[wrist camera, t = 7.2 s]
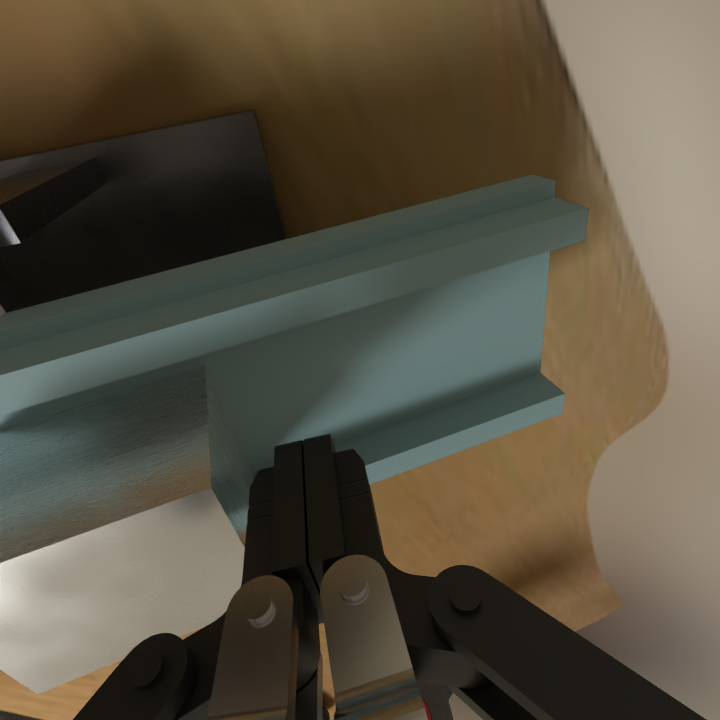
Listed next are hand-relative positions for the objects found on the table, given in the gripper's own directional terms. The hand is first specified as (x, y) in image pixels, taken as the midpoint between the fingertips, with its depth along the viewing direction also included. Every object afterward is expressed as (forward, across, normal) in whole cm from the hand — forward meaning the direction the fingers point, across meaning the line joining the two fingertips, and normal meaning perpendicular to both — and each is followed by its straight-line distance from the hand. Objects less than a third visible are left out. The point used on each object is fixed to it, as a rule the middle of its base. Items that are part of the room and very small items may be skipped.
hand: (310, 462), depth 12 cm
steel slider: (+2, +6, 0) cm, 6 cm away
